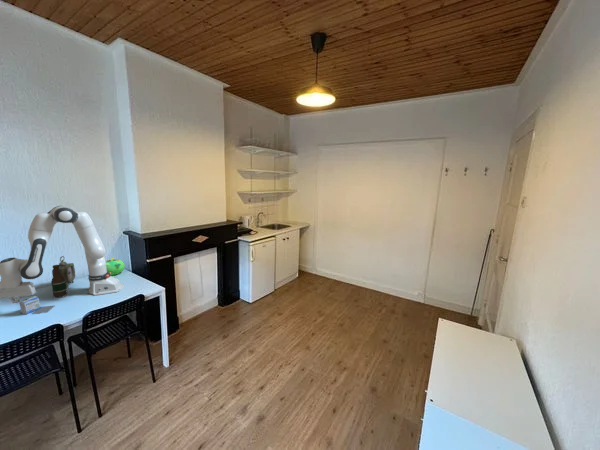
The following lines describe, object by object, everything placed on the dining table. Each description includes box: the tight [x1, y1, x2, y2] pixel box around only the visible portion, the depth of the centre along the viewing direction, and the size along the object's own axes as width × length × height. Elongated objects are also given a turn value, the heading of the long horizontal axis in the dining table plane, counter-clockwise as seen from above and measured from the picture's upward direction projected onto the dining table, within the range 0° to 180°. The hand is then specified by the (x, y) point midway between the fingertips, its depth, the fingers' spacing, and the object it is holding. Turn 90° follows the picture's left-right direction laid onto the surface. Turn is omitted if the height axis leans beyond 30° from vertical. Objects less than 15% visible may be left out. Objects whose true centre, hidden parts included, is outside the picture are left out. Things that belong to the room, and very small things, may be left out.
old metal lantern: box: [51, 255, 76, 289], centre depth 203 cm, size 14×9×25 cm, turn 23°
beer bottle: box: [50, 264, 68, 299], centre depth 188 cm, size 8×8×24 cm
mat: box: [31, 305, 56, 315], centre depth 171 cm, size 8×9×1 cm
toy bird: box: [105, 257, 126, 276], centre depth 230 cm, size 18×17×15 cm
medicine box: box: [18, 295, 42, 315], centre depth 169 cm, size 8×4×9 cm, turn 168°
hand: (16, 302), depth 166 cm, fingers closed
